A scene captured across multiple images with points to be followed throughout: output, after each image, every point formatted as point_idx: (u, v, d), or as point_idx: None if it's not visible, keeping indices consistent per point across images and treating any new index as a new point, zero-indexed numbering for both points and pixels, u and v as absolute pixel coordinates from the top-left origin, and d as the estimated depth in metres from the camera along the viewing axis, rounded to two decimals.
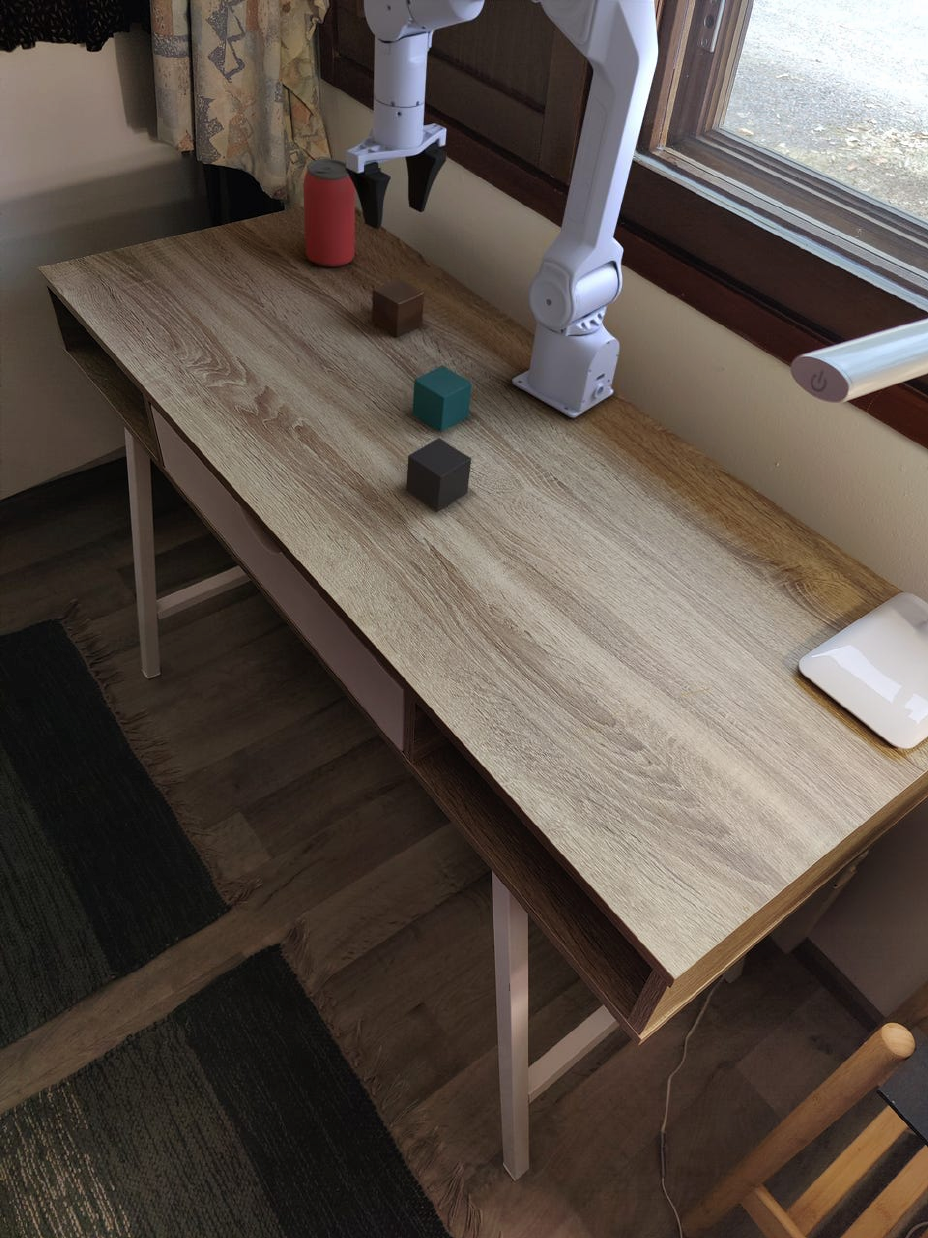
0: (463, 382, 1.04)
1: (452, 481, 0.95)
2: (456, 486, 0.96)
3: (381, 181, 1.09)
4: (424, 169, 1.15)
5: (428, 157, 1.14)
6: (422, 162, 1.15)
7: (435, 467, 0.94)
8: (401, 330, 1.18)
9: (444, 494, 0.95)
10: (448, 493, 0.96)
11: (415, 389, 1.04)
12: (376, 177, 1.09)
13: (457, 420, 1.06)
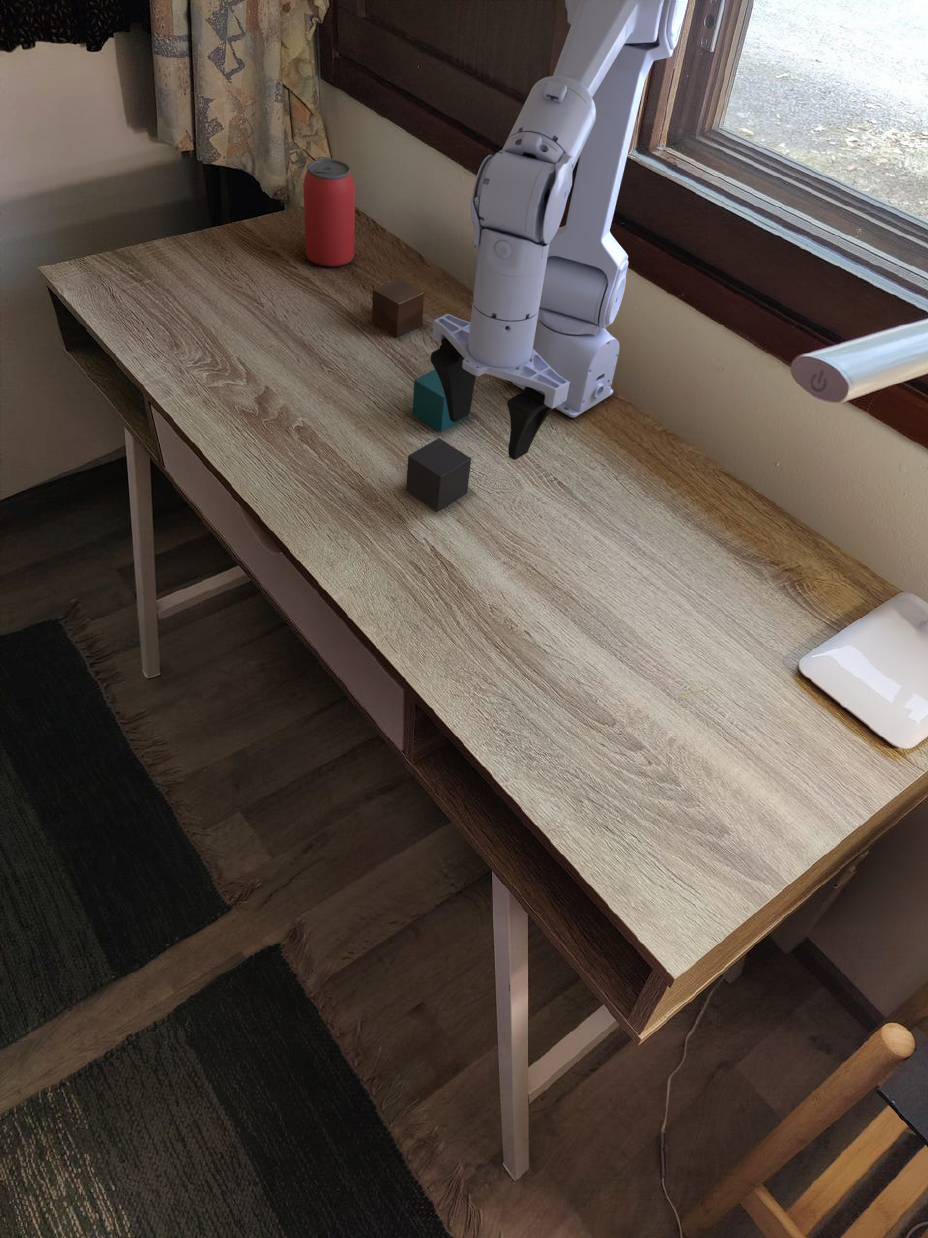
0: None
1: (452, 481, 0.95)
2: (456, 486, 0.96)
3: None
4: None
5: None
6: None
7: (435, 467, 0.94)
8: (401, 330, 1.18)
9: (444, 494, 0.95)
10: (448, 493, 0.96)
11: (415, 389, 1.04)
12: None
13: None
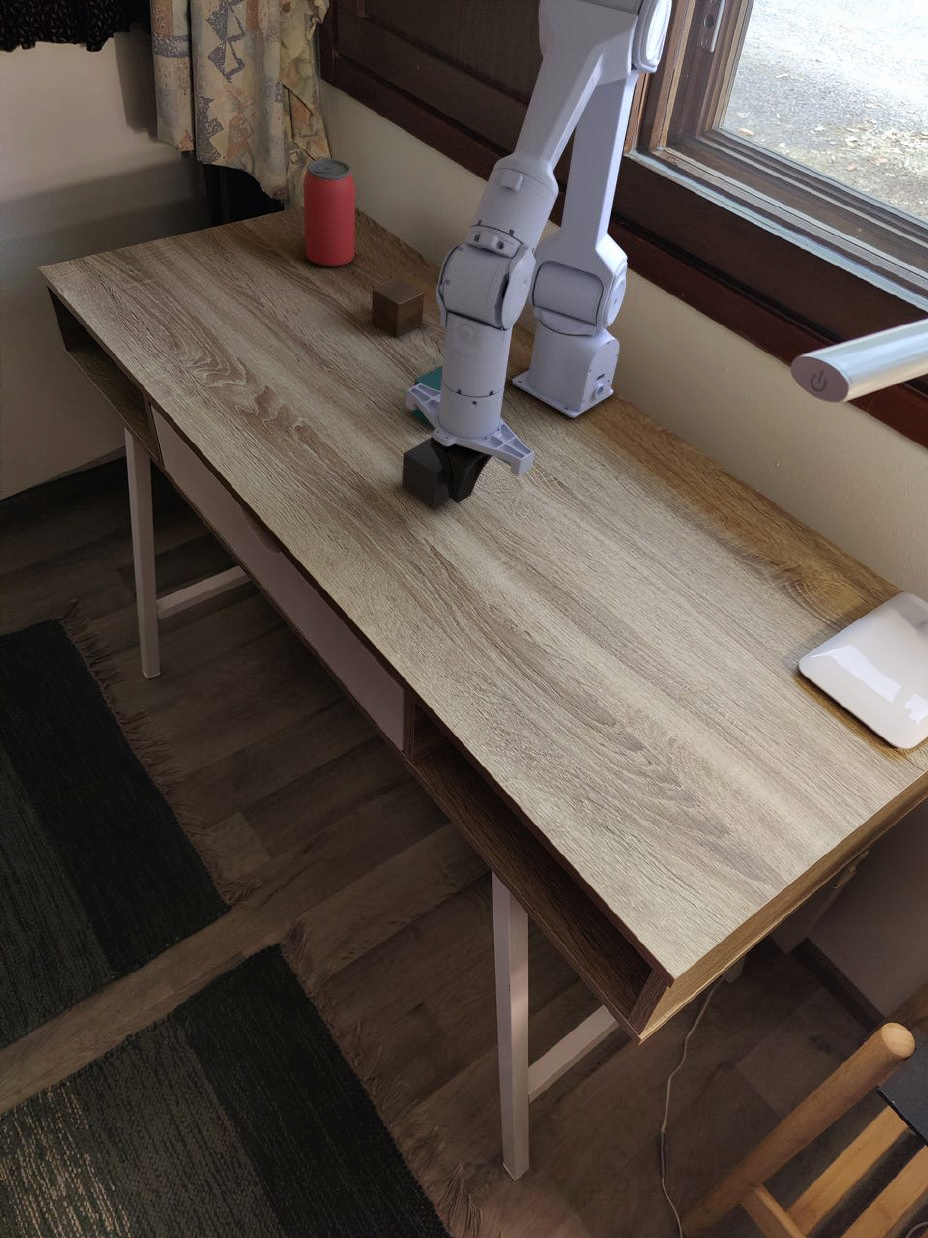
0: None
1: None
2: None
3: None
4: None
5: None
6: None
7: (431, 464, 0.94)
8: (401, 330, 1.18)
9: (440, 491, 0.95)
10: (443, 490, 0.96)
11: None
12: None
13: None
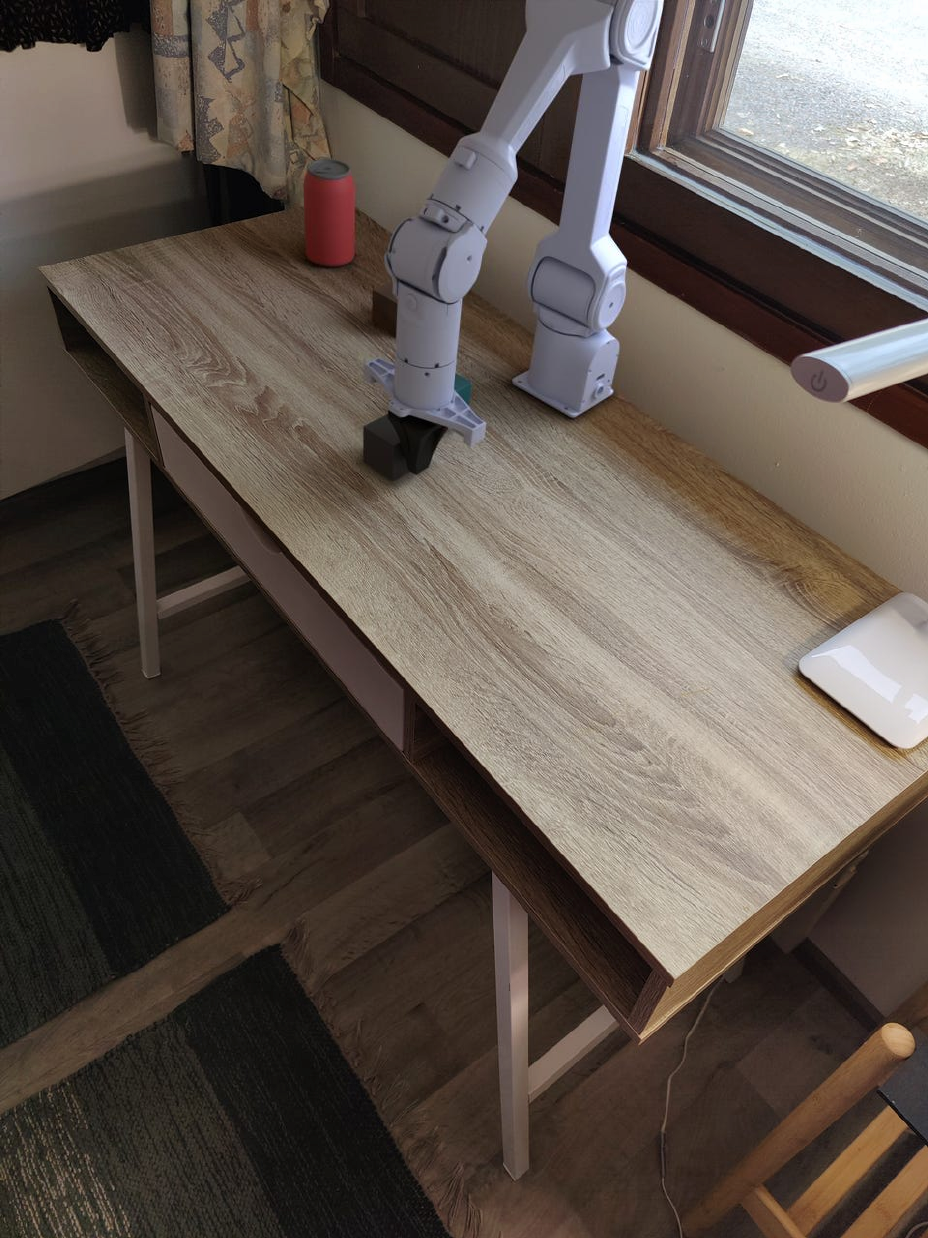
0: (463, 382, 1.04)
1: None
2: None
3: None
4: None
5: None
6: None
7: (389, 437, 0.96)
8: None
9: (399, 464, 0.98)
10: (402, 463, 0.98)
11: None
12: None
13: None
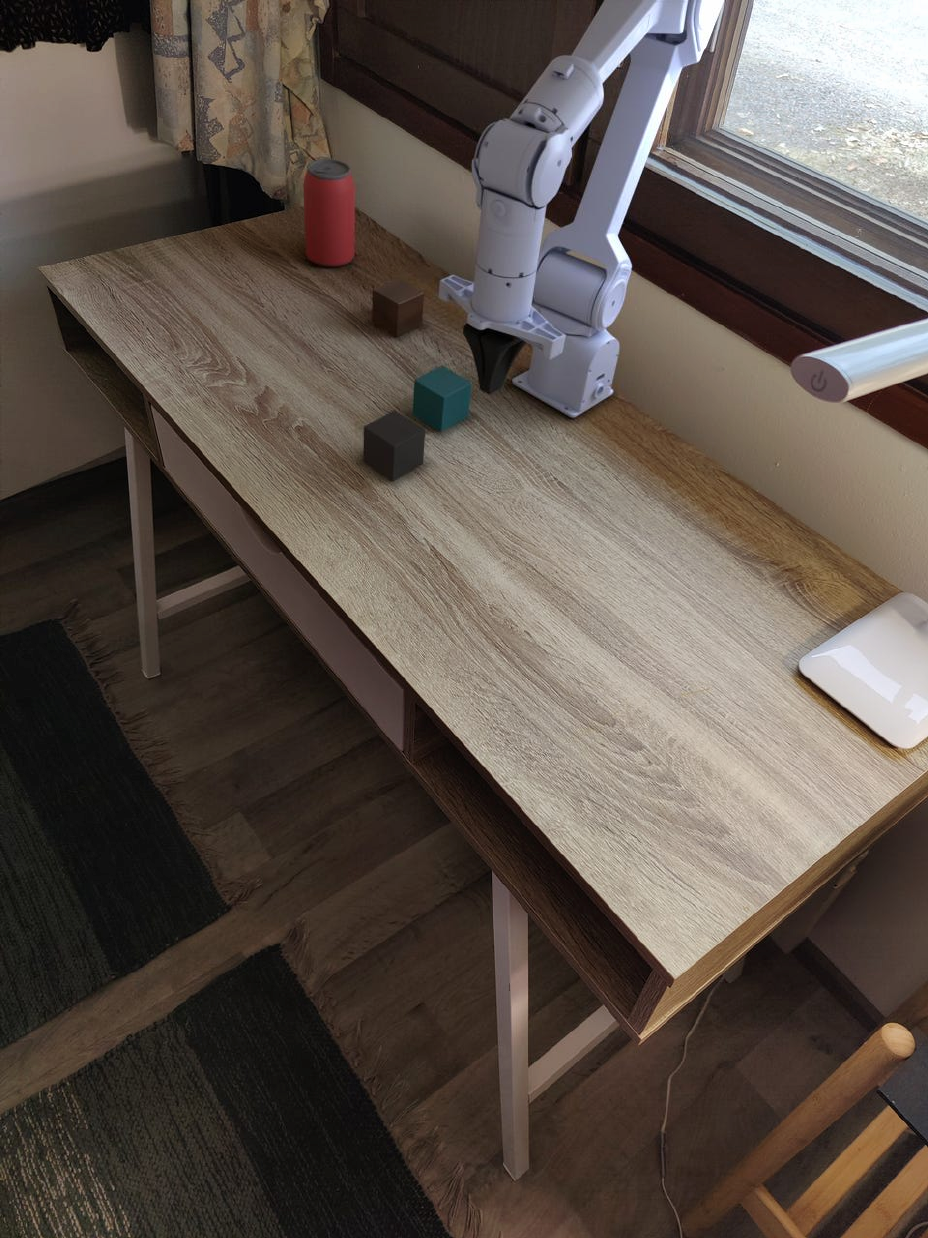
0: (463, 382, 1.04)
1: (407, 451, 0.97)
2: (411, 456, 0.99)
3: None
4: None
5: None
6: None
7: (390, 437, 0.96)
8: (401, 330, 1.18)
9: (399, 464, 0.98)
10: (403, 463, 0.98)
11: (415, 389, 1.04)
12: None
13: (457, 420, 1.06)
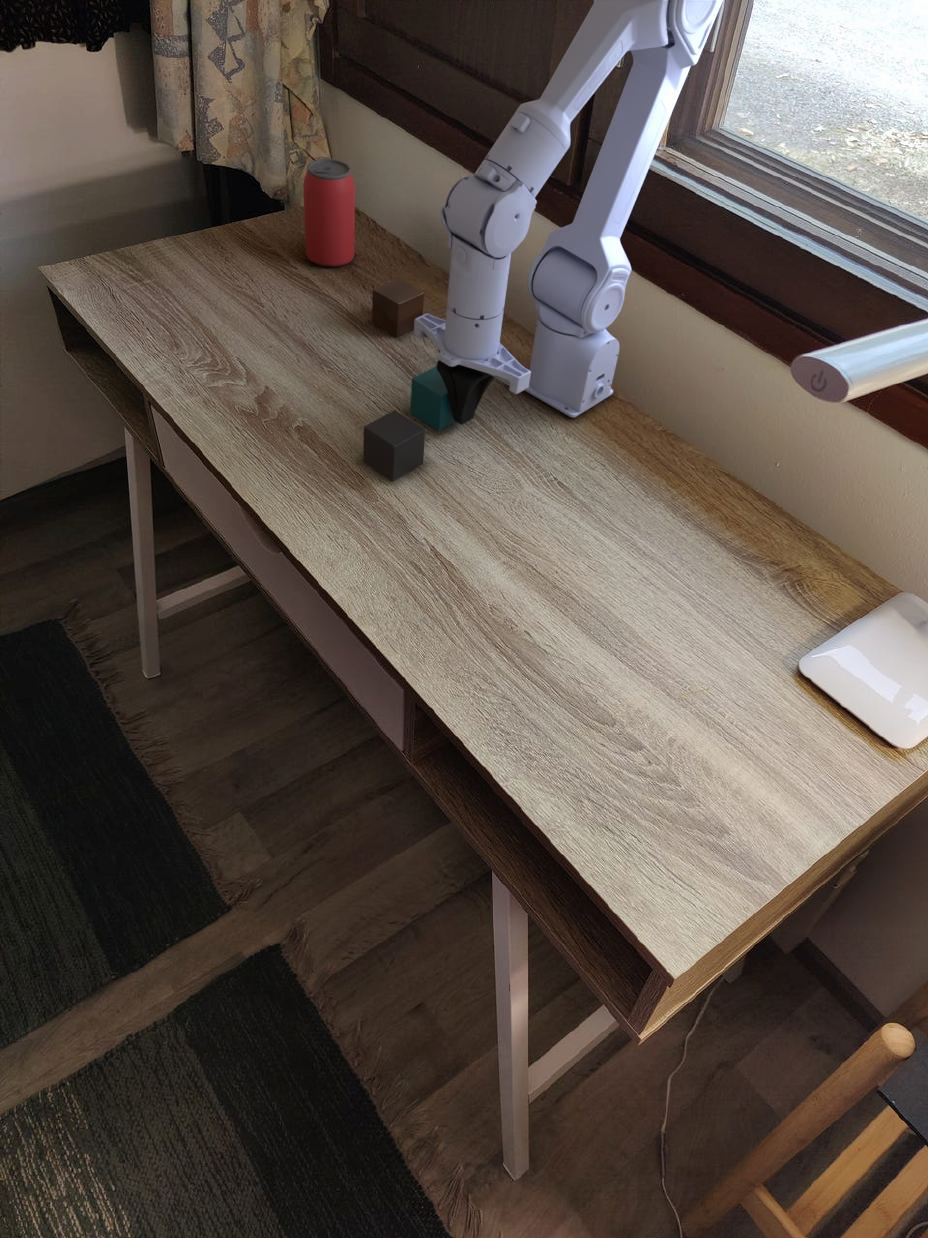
0: None
1: (407, 451, 0.97)
2: (411, 456, 0.99)
3: None
4: None
5: None
6: None
7: (390, 437, 0.96)
8: (401, 330, 1.18)
9: (399, 464, 0.98)
10: (403, 463, 0.98)
11: (413, 388, 1.05)
12: None
13: None
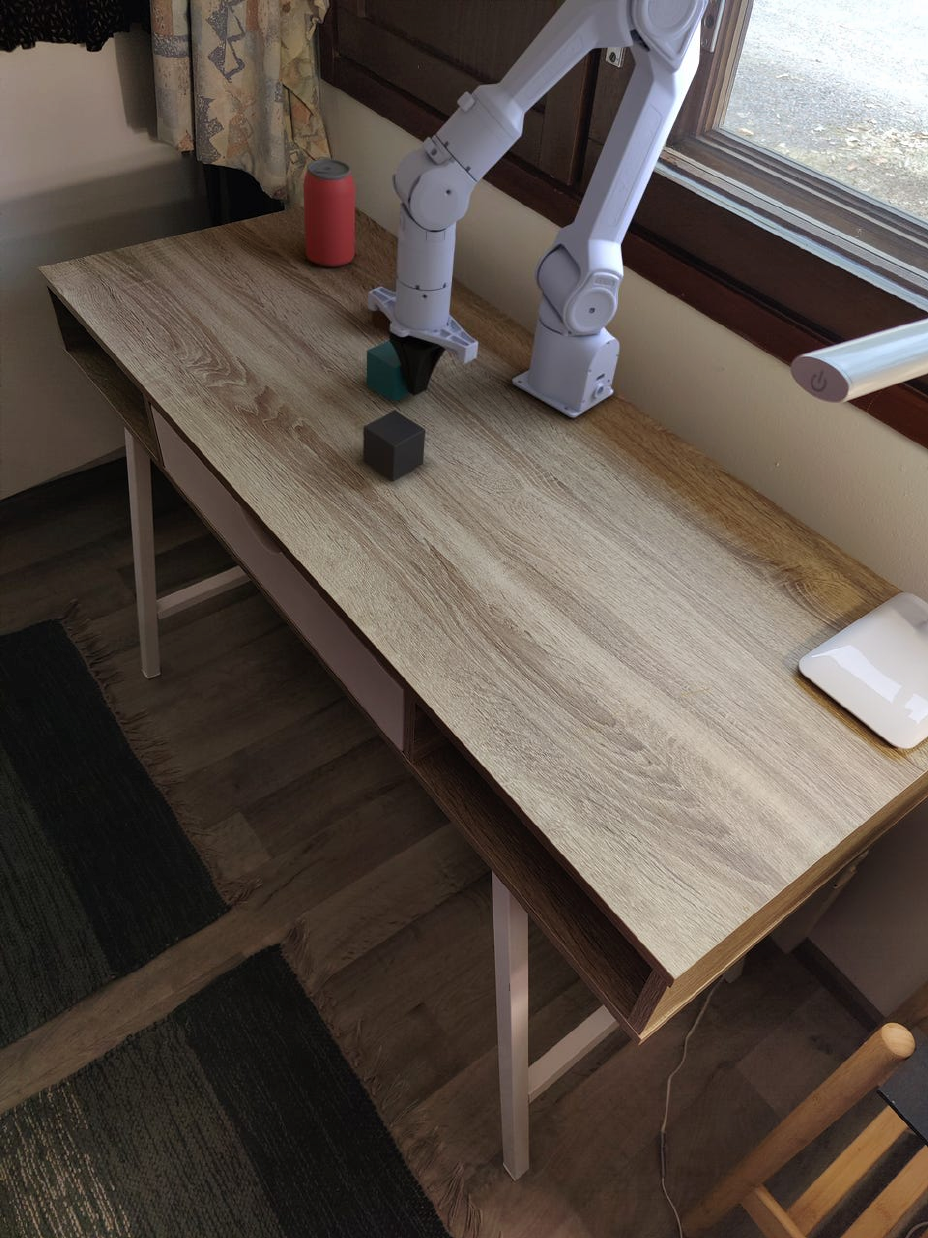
0: None
1: (407, 451, 0.97)
2: (411, 456, 0.99)
3: None
4: None
5: None
6: None
7: (390, 437, 0.96)
8: None
9: (399, 464, 0.98)
10: (403, 463, 0.98)
11: (368, 360, 1.07)
12: None
13: None
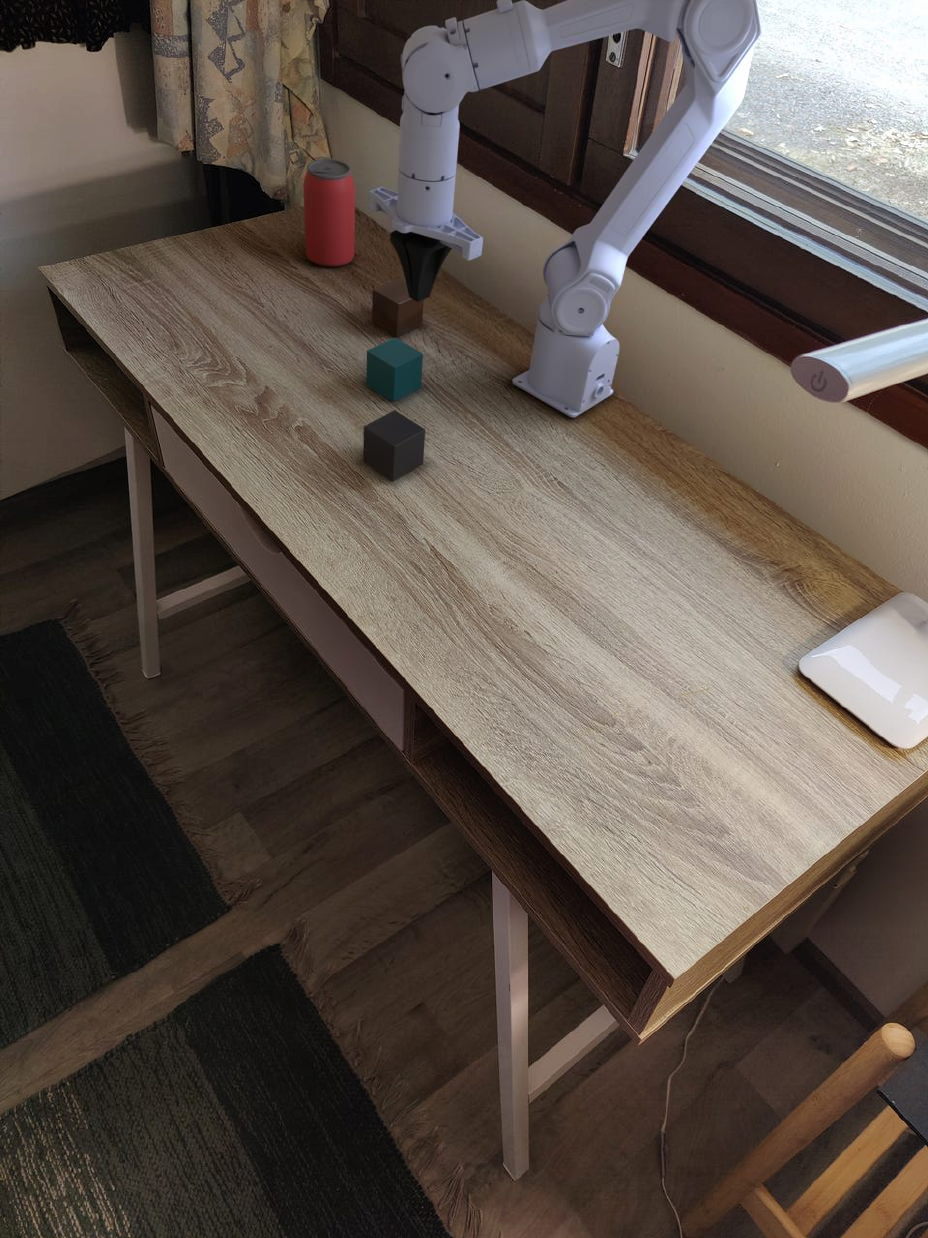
0: (414, 353, 1.07)
1: (407, 451, 0.97)
2: (411, 456, 0.99)
3: None
4: None
5: None
6: None
7: (390, 438, 0.96)
8: (401, 330, 1.18)
9: (399, 464, 0.98)
10: (403, 463, 0.98)
11: (368, 360, 1.07)
12: None
13: (410, 391, 1.09)
